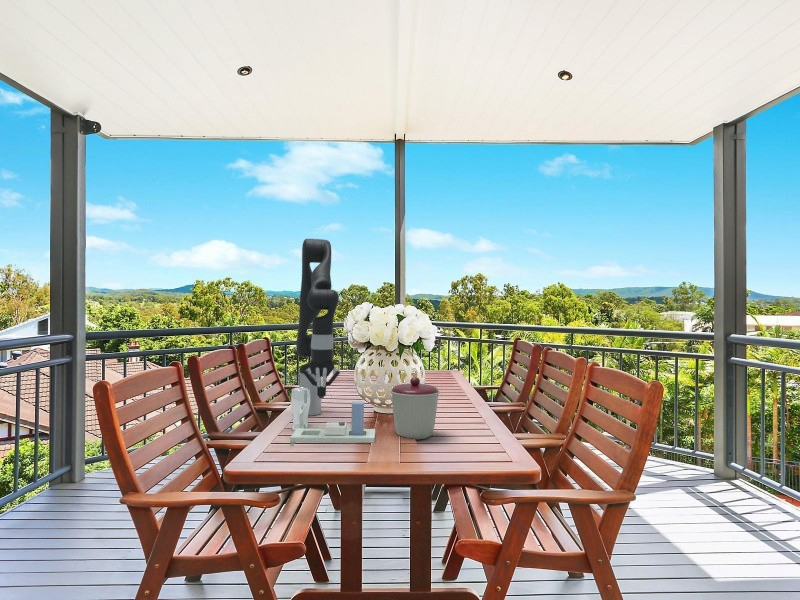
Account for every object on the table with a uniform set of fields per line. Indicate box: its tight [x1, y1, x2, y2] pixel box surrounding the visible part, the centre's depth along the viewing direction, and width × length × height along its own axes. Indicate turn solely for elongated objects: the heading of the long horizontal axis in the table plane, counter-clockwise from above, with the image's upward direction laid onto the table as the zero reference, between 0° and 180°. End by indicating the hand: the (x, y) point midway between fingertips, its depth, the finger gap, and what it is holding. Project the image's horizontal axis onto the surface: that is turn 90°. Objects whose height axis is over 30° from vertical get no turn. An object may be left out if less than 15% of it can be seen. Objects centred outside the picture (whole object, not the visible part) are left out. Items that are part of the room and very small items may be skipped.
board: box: [289, 427, 376, 445], centre depth 182 cm, size 12×28×2 cm, turn 92°
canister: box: [389, 377, 441, 441], centre depth 189 cm, size 18×18×21 cm
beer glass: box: [290, 386, 310, 431], centre depth 196 cm, size 7×7×15 cm
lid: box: [324, 421, 348, 435], centre depth 182 cm, size 7×7×3 cm
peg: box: [350, 401, 365, 436], centre depth 182 cm, size 4×4×12 cm
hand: (321, 397), depth 182 cm, fingers closed
